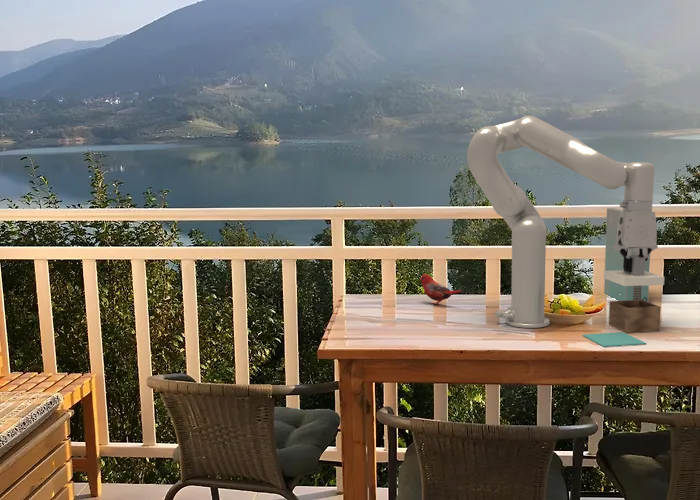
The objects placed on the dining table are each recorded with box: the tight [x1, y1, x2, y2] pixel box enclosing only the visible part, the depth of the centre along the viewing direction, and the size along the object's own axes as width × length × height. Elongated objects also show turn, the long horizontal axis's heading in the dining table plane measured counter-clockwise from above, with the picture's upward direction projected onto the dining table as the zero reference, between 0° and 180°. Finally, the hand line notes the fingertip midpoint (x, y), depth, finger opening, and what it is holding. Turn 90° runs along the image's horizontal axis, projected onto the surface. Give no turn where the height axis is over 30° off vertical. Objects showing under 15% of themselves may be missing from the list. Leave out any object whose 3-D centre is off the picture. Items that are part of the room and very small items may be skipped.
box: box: [608, 300, 661, 334], centre depth 223 cm, size 10×10×7 cm
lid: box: [603, 255, 665, 286], centre depth 221 cm, size 12×12×7 cm
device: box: [603, 207, 651, 302], centre depth 260 cm, size 16×8×30 cm, turn 7°
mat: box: [582, 331, 647, 348], centre depth 210 cm, size 12×12×1 cm
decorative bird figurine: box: [419, 273, 463, 306], centre depth 255 cm, size 3×18×10 cm, turn 46°
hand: (633, 270), depth 221 cm, fingers closed on lid, 3 cm apart
